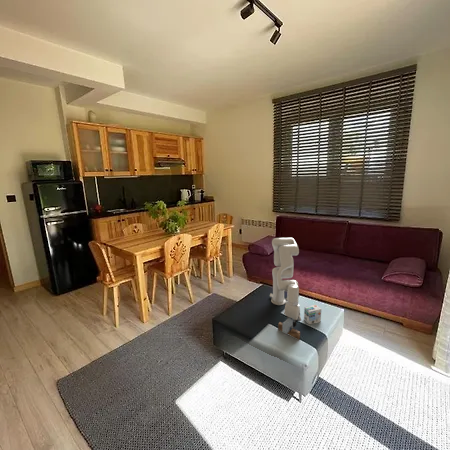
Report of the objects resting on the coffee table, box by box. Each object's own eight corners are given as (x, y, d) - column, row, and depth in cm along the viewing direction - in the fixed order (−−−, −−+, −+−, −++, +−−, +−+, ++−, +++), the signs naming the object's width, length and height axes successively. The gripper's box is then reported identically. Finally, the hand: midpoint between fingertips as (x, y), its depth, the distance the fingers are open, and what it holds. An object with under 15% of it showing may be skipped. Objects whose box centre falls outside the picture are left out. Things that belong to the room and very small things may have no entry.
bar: (282, 331, 163) (282, 322, 162) (291, 323, 171) (291, 315, 170) (286, 333, 161) (286, 324, 160) (295, 325, 169) (295, 316, 168)
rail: (278, 329, 172) (278, 323, 171) (279, 327, 174) (280, 321, 172) (298, 339, 161) (298, 333, 160) (299, 338, 162) (300, 331, 161)
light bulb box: (308, 324, 176) (309, 311, 174) (303, 319, 182) (304, 306, 180) (321, 321, 179) (321, 309, 176) (315, 316, 185) (316, 304, 183)
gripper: (279, 299, 168) (279, 322, 172) (300, 308, 157) (300, 333, 160) (285, 295, 173) (284, 318, 177) (306, 303, 162) (305, 327, 166)
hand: (292, 325), depth 169 cm, fingers closed on bar, 3 cm apart
